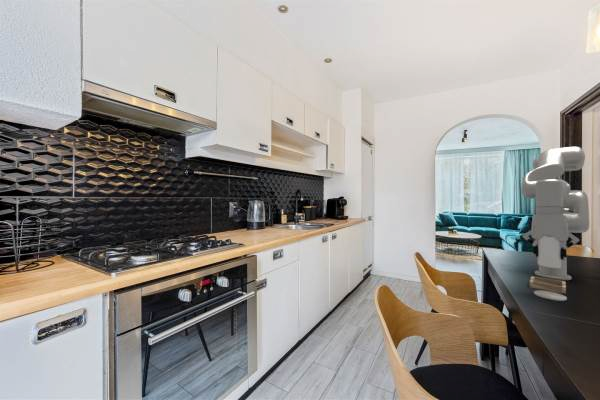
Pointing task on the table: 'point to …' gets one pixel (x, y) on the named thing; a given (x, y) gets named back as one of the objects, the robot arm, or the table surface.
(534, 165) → the robot arm
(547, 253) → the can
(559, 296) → the coaster
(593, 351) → the table surface
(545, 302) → the table surface
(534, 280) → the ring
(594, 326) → the table surface
